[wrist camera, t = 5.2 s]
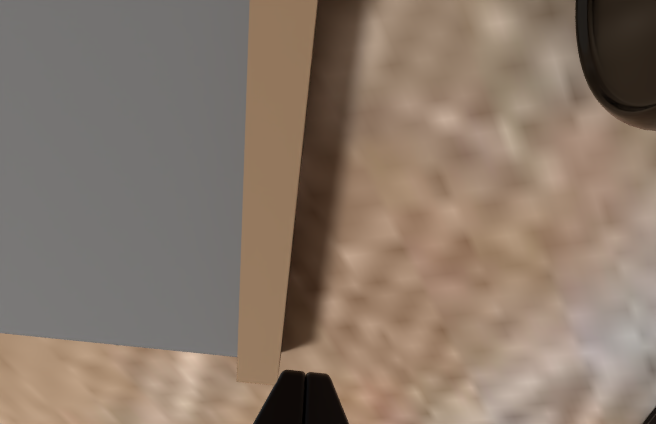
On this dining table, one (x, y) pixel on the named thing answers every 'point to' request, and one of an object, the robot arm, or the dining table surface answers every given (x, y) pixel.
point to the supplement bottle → (620, 57)
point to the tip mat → (153, 172)
